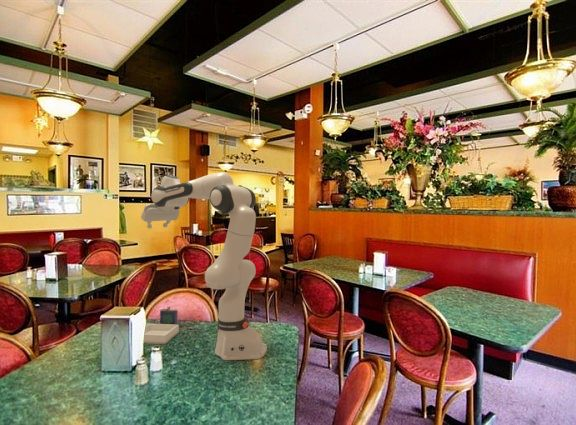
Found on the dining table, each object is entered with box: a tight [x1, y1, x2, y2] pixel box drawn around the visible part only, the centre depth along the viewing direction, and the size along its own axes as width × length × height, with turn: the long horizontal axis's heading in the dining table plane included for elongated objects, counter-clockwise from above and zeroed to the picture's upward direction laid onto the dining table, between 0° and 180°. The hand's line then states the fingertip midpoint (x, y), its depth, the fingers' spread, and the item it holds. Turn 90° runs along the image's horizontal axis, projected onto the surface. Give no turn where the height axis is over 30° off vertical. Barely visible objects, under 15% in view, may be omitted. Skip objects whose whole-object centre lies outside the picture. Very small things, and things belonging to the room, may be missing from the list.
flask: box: [159, 306, 179, 325], centre depth 166 cm, size 9×3×11 cm, turn 87°
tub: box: [143, 323, 180, 345], centre depth 152 cm, size 16×14×4 cm
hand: (157, 227), depth 169 cm, fingers open, 8 cm apart
